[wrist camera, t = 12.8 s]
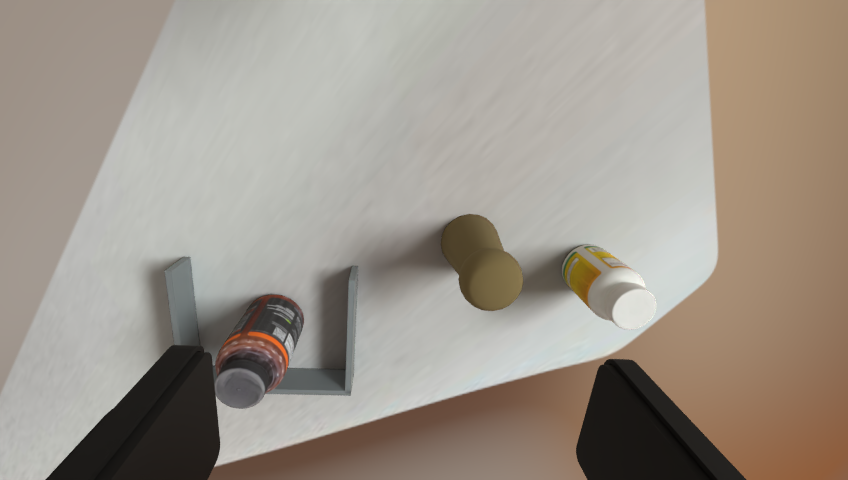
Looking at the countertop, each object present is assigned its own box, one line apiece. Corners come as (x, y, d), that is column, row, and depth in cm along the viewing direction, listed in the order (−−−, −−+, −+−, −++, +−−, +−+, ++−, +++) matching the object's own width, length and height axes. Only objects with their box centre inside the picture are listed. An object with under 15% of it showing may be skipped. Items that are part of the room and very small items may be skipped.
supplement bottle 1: (243, 333, 42) (193, 411, 32) (253, 285, 41) (204, 350, 30) (298, 346, 43) (268, 425, 33) (311, 300, 42) (283, 367, 31)
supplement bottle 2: (599, 235, 42) (656, 271, 33) (613, 275, 43) (672, 320, 34) (552, 257, 42) (597, 298, 33) (569, 296, 44) (615, 346, 35)
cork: (441, 270, 42) (457, 325, 31) (440, 215, 40) (456, 255, 29) (497, 266, 42) (531, 319, 32) (498, 212, 40) (535, 250, 30)
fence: (183, 256, 39) (164, 270, 36) (358, 266, 41) (355, 280, 37) (196, 370, 43) (180, 392, 40) (353, 374, 45) (350, 395, 42)
